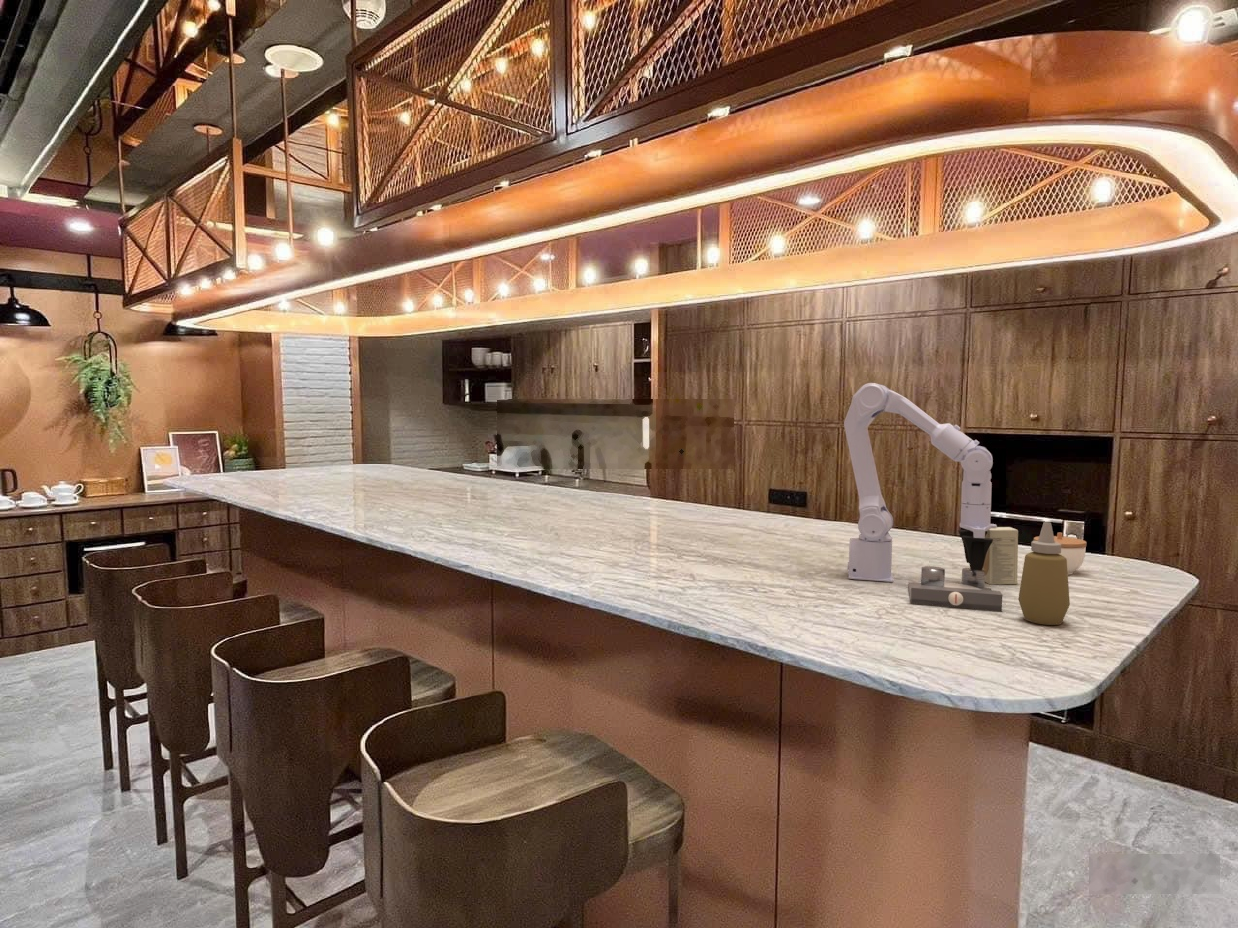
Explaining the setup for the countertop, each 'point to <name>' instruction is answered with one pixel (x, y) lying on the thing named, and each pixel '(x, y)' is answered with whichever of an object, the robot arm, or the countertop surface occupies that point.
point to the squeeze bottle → (1044, 581)
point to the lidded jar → (1071, 551)
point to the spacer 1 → (932, 576)
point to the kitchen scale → (955, 596)
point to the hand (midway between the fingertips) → (974, 566)
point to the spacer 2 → (973, 577)
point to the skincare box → (1002, 556)
